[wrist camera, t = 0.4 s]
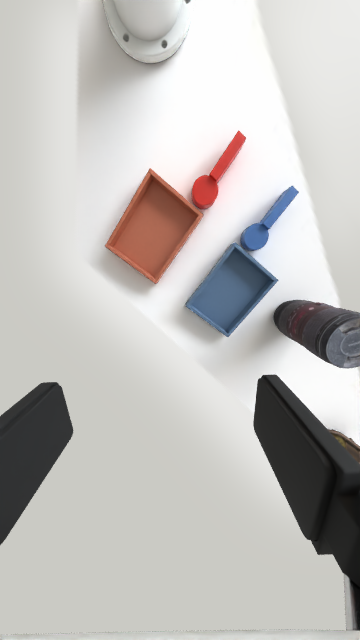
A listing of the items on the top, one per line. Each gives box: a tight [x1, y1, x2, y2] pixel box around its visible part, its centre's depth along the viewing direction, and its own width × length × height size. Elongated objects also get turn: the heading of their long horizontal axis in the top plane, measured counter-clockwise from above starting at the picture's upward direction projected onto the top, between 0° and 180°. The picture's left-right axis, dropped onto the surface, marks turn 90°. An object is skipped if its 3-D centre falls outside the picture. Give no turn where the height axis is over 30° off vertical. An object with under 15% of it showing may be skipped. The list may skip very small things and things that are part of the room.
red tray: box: [105, 168, 203, 284], centre depth 31 cm, size 15×11×2 cm
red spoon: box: [192, 131, 246, 209], centre depth 29 cm, size 11×4×3 cm, turn 143°
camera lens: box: [274, 300, 360, 368], centre depth 30 cm, size 8×8×15 cm
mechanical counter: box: [327, 429, 360, 464], centre depth 43 cm, size 7×13×10 cm
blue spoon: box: [241, 186, 299, 251], centre depth 31 cm, size 11×4×3 cm, turn 143°
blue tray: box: [186, 243, 278, 337], centre depth 34 cm, size 15×11×2 cm
